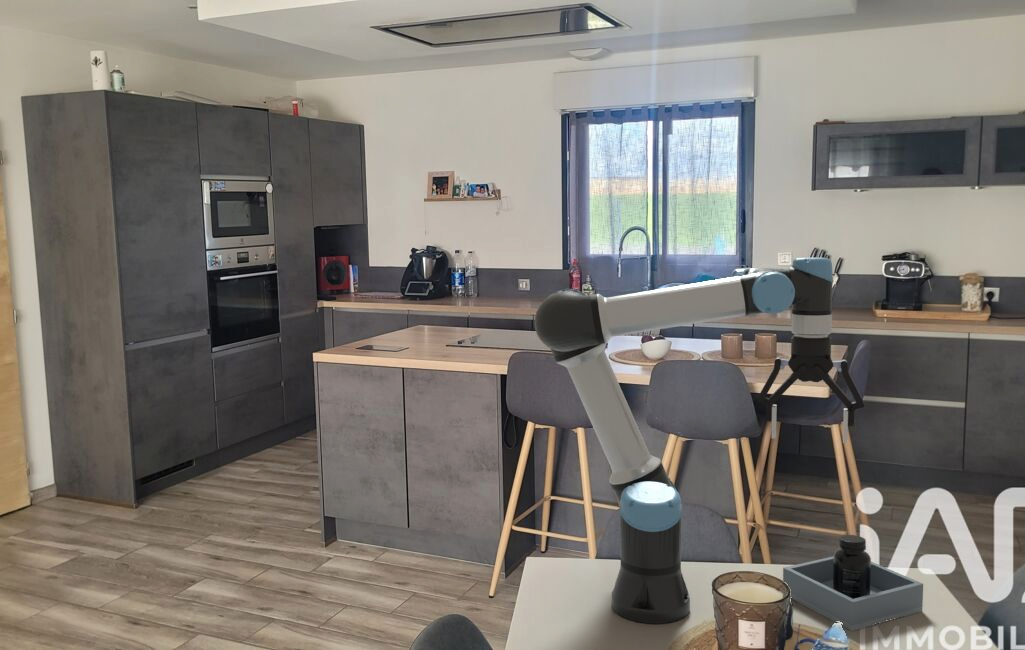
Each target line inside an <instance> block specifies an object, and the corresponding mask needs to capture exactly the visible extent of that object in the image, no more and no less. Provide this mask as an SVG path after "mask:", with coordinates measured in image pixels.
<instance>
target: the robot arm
mask: <svg viewBox="0 0 1025 650" xmlns="http://www.w3.org/2000/svg"><path fill="white" fill-rule="evenodd" d="M833 276H834V274H833V263H832V261H831V259H829V258H827V257H796V258H794V259H793V261H792V265H791V267H786V268H785V267H782V268H778V267H777V268H774V267H772V268H771V267H767V268H766V267H761V268H760V267H758V268H757V267H752V268H751V267H746V268H735V269H733V270H732V272H731V275H730V277H726V278H725V277H724V278H718V279H715V280H713V279H712V280H707V281H702V282H696V283H695V282H694V283H689V284H683V285H678V286H670V287H663V288H657V289H651V290H646V291H639V292H634V293H633V292H632V293H627V294H621V295H615V296H609V297H605V296H603V295H602V294H600V293H595V294H593V293H592V294H586V293H584V292H582V291H580V290H577V289H573V288H562V289H561V290H556V291H555V292H553V293H551V294H549V295H548V296H546V298H545V299H544V300H543V301H542V302H541V304H540V305H539V306H538V308H537V309H536V312H535V316H534V329H535V333H536V335H537V338H539V340H540V341H541V342H542V343H543V344H544V345H545V346H546V347H547V348H549V349H550V351H551V353H552V356H553V358H554V360H555V362H556V364H558V365H560V366H563V367H565V368H566V369H567V371H568V374H569V376H570V378H571V381H572V383H573V385H574V387H575V390H576V392H577V393H578V396H579V399H580V400H581V403H582V406H583V408H584V410H585V412H586V414H587V417H588V419H589V421H590V423H591V426H592V427H593V430H594V433H595V434H596V436H597V437H596V438H597V439H598V441H599V443H600V446H601V448H602V451H603V453H604V455H605V457H606V459H607V461H608V463H609V466H610V468H611V471H612V473H611V474H610V477H609V480H608V481H609V483H610V486H611V489H612V490H613V493H614V495H615V498H616V500H617V502H618V505H619V508H618V509H619V513H620V514H619V515H620V516H619V517H620V518H619V519H620V520H619V521H620V529H619V531H620V534H619V535H620V546H619V547H620V549H619V550H620V553H619V554H620V567H619V570H618V574H617V577H616V580H615V583H614V587H613V589H612V591H611V608H612V609H613V612H615V613H616V614H618V615H619V616H620V617H623V618H625V619H627V620H630V621H633V622H638V623H644V624H665V623H666V624H668V623H672V622H675V621H679V620H681V619H684V618H685V617H686V616H687V615H689V612H690V610H691V599H690V598H691V597H690V594H689V590H688V588H687V584H686V582H685V577H684V575H683V572H682V514H683V503H682V501H681V500H682V499H681V495H680V493H679V492H678V491H677V489H676V486H675V484H674V482H673V481H672V480H671V478H670V477H669V476H668V474H667V471H666V469H665V467H664V464H663V463H662V462H663V461H662V460H661V458H659V457H656V456H654V455H652V454H651V453H650V451H649V449H648V447H647V444H646V442H645V440H644V437H643V435H642V433H641V430H640V429H639V426H638V423H637V421H636V420H635V418H634V415H633V412H632V411H631V408H630V406H629V404H628V401H627V400H626V397H625V395H624V392H623V390H622V388H621V386H620V383H619V381H618V378H617V377H616V374H615V372H614V369H613V367H612V365H611V363H610V361H609V358H608V356H607V354H606V352H605V351H606V346H607V344H608V343H609V342H610V340H611V339H612V338H613V337H619V336H626V335H632V334H639V333H644V332H651V331H655V330H664V329H670V328H675V327H681V326H682V327H683V326H686V325H687V326H688V325H689V326H690V325H695V324H700V323H707V322H712V321H720V320H725V319H732V318H737V317H743V316H754V315H759V314H768V315H773V314H780V313H782V312H784V311H786V310H787V309H789V308H790V307H791V330H790V331H791V333H792V334H794V335H792V336H791V338H790V339H791V340H790V342H791V344H790V345H791V346H790V348H791V349H790V358H789V359H786V358H782V357H779V356H777V357H776V358H775V359H774V365H773V369H772V370H771V372H770V375H769V376H768V378H767V380H766V382H765V384H764V385H763V388H762V389H761V391H760V393H759V394H758V396H757V399H756V401H757V402H758V403H759V404H763V405H765V407H766V408H765V409H766V410H765V412H766V413H765V420H766V422H771V439H774V440H775V439H777V409H778V408H777V406H778V405H777V404H775V403H776V401H778V399H779V398H780V397H782V395H783V394H784V393H785V392H786V391H787V390H789V388H790V387H791V386H792V385H793V384H794V383H796V381H797V380H799V381H800V382H802V383H803V382H805V383H806V382H813V383H819V382H822V381H823V383H825V384H826V386H828V387H829V389H830V390H831V391H832V392H833V393H834V394H835V395H836V397H837V398H838V399H839V401H841V403H842V404H843V405H844V406H845V407H846V408H845V407H844V408H843V421H842V422H843V425H842V443H843V444H848V428H849V427H854V424H855V411H856V410H858V409H863V408H864V407H865V402H864V400H863V398H862V396H861V393H860V391H859V389H858V387H857V385H856V384H855V382H854V379H853V378H852V375H851V374H850V372H849V369H848V368H849V367H848V361H847V359H846V358H845V359H841V360H834V361H833V360H832V337H831V336H829V335H831V334H832V326H833V325H832V323H833V321H832V319H833V317H832V315H833V314H832V313H833V312H832V309H833V308H832V307H833V306H832V304H833V283H834V280H833V279H834V277H833ZM786 366H788V367H789V369H790V370H791V371H792V373H791V374H790V375H789V376H788V377H787V378H786V379H785V381H784V382H783V383H782V384H781V385H780V386H779V387H778V388H777V389H776V390H775V391H774V392H773V393H772V394H771V395H770V396H769V397H767V395H768V393H769V391H770V389H771V388H772V386H773V384H774V382H775V381H776V379H777V377H778V375H779V373H780V371H781V370H784V369H785V367H786ZM833 368H836V370H837V372H839V373H841V376H842V377H843V379H844V381H845V383H846V385H847V387H848V389H849V391H850V393H851V395H852V397H853V399H854V401H852V400H851V399H850V398H849V397H848V396H847V394H846V393H845V392H844V391H843V389H841V387H840V386H839V385H838V384H837V383H836V382H835V380H833V378H832V377H831V376H830V374H829V373H830V372H831V370H832V369H833Z"/></svg>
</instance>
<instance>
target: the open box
mask: <svg viewBox="0 0 1025 650" xmlns="http://www.w3.org/2000/svg"><path fill="white" fill-rule="evenodd" d="M833 560H834V555H833V556H829V557H823V558H820V559H816V560H812V561H807V562H802V563H798V564H793V565H790V566H785V567H783V568H782V582H783V581H784V582H786V583H787V584H788V586H789V587H790V589H791V597H792V599H791V600H793V601H795V602H797V603H799V604H800V605H802V606H805V607H806V608H808V609H810V610H811V611H814V612H816V613H817V614H819V615H821V616H823V617H825V618H828V620H831V621H832V622H834V623H836V622H835V621H840V622H842V623H843V626H842V627H843V628H845V629H848V630H850V631H852V632H854V631H857V630H861V628H862V629H864V627H865V628H869V627H872V626H874V625H873V624H875V623H879V622H883V621H886V620H890V619H894V618H897V619H899V618H898V617H901V618H903V617H902V616H904V617H907V616H906V615H908V616H911V614H912V615H915V614H919V613H922V612H923V604H924V603H923V602H924V601H923V600H924V599H923V598H924V583H922V582H921V581H920V582H919V581H918V580H915V579H913V578H911V577H909V576H906V575H903V574H901V573H899V572H896V571H894V570H893V569H890V568H887V567H885V566H882V565H880V564H877V563H875V562H873V561H871V583H870V595H867V596H863V597H859V598H855V599H852V598H850V597H848V596H846V595H844V594H842V593H840V592H838V591H836V590H834V589H833ZM894 620H895V619H894ZM890 621H891V620H890ZM883 623H884V622H883ZM879 624H880V623H879ZM871 625H872V626H871ZM868 626H869V627H868Z"/></svg>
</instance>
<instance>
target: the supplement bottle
mask: <svg viewBox="0 0 1025 650" xmlns="http://www.w3.org/2000/svg"><path fill="white" fill-rule="evenodd" d="M866 540H867V539H866V538H865V537H864V536H863V537H862V536H859V535H854V534H843V535H840V536H839V540H838V541H839V542H838V549H836V550H835V552H834V553H833V556H834V560H833V589H834V590H836V591H838V592H840V593H842V594H844V595H846V596H848V597H850V598H852V599H855V598H859V597H863V596H867V595H870V583H871V562H872V558H871V556H870V554H869V553H868V552H867V551H866V550H867V546H866V543H867V541H866Z"/></svg>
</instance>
